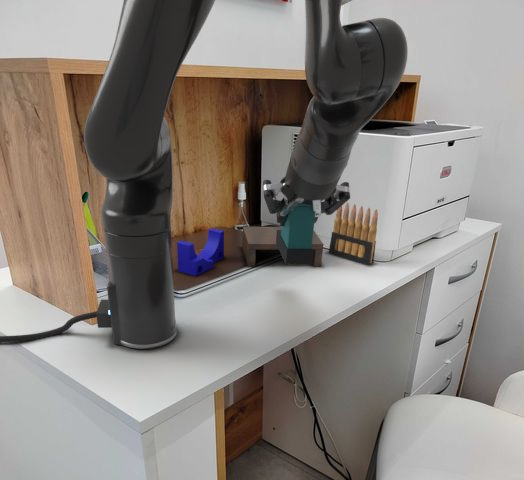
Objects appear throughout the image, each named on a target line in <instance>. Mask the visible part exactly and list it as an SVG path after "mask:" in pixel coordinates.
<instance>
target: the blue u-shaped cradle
mask: <svg viewBox="0 0 524 480" xmlns="http://www.w3.org/2000/svg"><path fill="white" fill-rule="evenodd" d="M176 250H177V251H176V253H177V269H178V270H177V271H178V272H181V273H183V274H188V275H190V276H193V277H196V276H199V275H202V274H203V273H205V272H208V271H209V270H212V269H213V268H214V263H216V262H218V261H221V260H222V259H225V230H221V229H217V228H210V229H208V233H207V240H206V243H205V245H204V247H203V249H202V250H201V251H200V253H198V254H197V253H196V250H195V244H194V242H193V243H192V242H188V241H185V240H179V241H178V242H176Z"/></svg>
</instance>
